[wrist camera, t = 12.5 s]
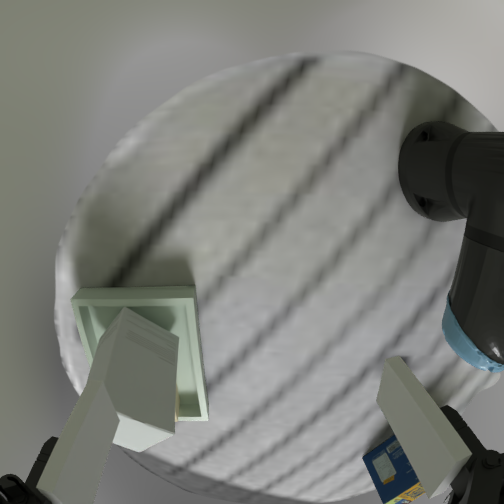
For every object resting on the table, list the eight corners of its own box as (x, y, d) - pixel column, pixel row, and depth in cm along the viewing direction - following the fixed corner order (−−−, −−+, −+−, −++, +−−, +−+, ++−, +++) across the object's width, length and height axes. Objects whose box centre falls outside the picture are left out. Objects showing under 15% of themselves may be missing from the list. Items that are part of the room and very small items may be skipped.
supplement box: (97, 339, 39) (72, 428, 27) (124, 304, 37) (97, 404, 24) (149, 366, 43) (139, 454, 30) (181, 337, 40) (176, 435, 28)
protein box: (426, 430, 59) (454, 471, 44) (379, 466, 61) (400, 509, 46) (413, 418, 56) (443, 464, 41) (360, 457, 58) (382, 505, 43)
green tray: (195, 285, 41) (193, 297, 37) (208, 404, 47) (208, 420, 44) (81, 287, 40) (70, 299, 36) (114, 401, 46) (108, 416, 42)
